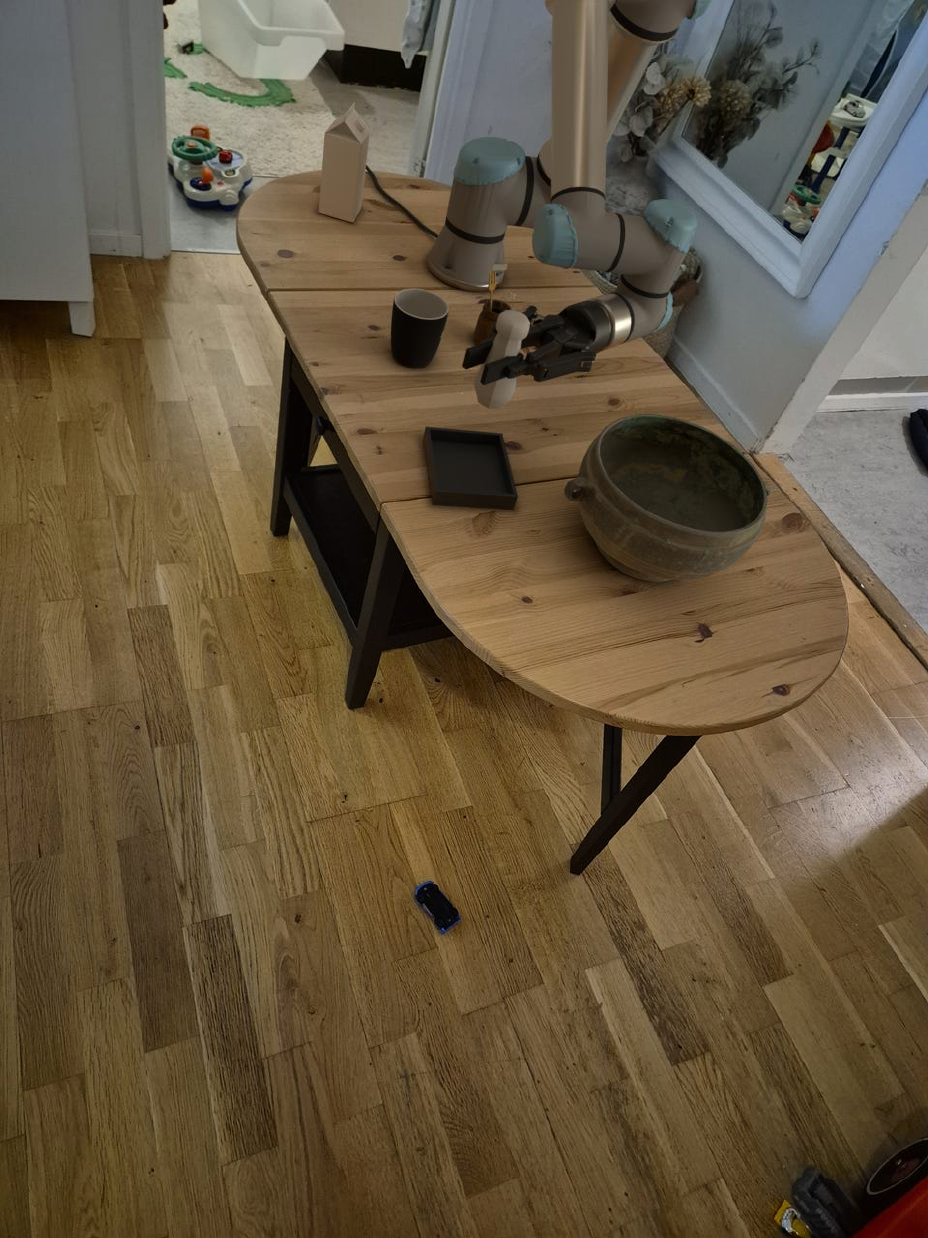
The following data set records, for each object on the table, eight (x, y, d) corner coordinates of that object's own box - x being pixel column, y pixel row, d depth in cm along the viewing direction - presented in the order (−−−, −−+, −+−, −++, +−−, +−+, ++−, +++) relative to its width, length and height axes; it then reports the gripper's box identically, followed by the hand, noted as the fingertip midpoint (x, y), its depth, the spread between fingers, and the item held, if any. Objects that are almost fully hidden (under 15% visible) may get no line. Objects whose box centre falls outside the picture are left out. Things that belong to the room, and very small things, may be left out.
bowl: (700, 485, 131) (744, 411, 119) (770, 609, 116) (828, 538, 104) (517, 484, 121) (546, 403, 110) (568, 619, 106) (608, 542, 95)
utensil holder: (488, 355, 141) (505, 292, 132) (465, 336, 143) (480, 273, 134) (511, 347, 144) (529, 285, 135) (488, 328, 147) (504, 266, 137)
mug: (442, 374, 135) (455, 320, 127) (391, 372, 132) (400, 317, 124) (426, 333, 141) (437, 279, 134) (377, 330, 138) (385, 275, 131)
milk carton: (318, 213, 160) (326, 108, 145) (327, 199, 164) (336, 96, 150) (352, 223, 160) (363, 120, 146) (361, 209, 165) (372, 107, 150)
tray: (422, 439, 123) (425, 426, 121) (498, 446, 126) (502, 433, 124) (432, 504, 114) (435, 491, 112) (513, 509, 117) (518, 496, 115)
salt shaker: (461, 393, 110) (484, 308, 101) (491, 382, 114) (515, 299, 104) (489, 417, 108) (515, 333, 99) (518, 406, 111) (546, 323, 102)
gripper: (622, 379, 115) (509, 426, 103) (546, 320, 121) (430, 357, 108) (642, 333, 110) (525, 377, 97) (561, 273, 115) (441, 307, 103)
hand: (475, 366), depth 103 cm, fingers closed on salt shaker, 3 cm apart
